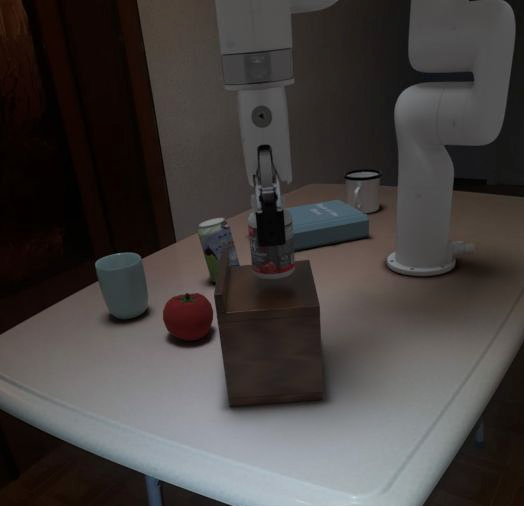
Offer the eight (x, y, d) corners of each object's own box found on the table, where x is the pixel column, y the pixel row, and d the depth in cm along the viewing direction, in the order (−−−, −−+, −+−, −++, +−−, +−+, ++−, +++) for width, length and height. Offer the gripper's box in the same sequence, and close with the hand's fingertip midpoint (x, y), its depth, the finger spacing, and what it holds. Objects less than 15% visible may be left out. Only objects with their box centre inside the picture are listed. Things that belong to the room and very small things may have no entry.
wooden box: (313, 342, 84) (308, 243, 76) (323, 399, 70) (319, 286, 63) (233, 348, 84) (221, 250, 76) (229, 406, 71) (213, 294, 63)
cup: (113, 328, 94) (100, 272, 89) (103, 312, 100) (89, 259, 95) (157, 315, 96) (147, 261, 92) (144, 300, 103) (134, 249, 98)
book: (338, 220, 136) (338, 199, 133) (368, 238, 122) (369, 215, 120) (250, 236, 131) (247, 215, 128) (271, 256, 117) (269, 233, 115)
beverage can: (238, 287, 105) (230, 224, 99) (200, 287, 106) (191, 225, 100) (245, 274, 110) (239, 214, 104) (210, 274, 111) (201, 215, 106)
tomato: (214, 320, 93) (208, 280, 89) (218, 343, 86) (212, 300, 82) (166, 328, 92) (158, 287, 89) (166, 351, 85) (158, 308, 82)
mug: (348, 204, 147) (348, 169, 143) (384, 204, 144) (385, 168, 139) (337, 217, 138) (336, 180, 133) (375, 218, 134) (375, 180, 130)
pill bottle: (243, 275, 70) (235, 198, 65) (271, 261, 73) (264, 187, 69) (277, 283, 67) (271, 202, 62) (303, 269, 70) (299, 191, 65)
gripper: (298, 72, 51) (307, 259, 60) (289, 64, 66) (297, 214, 75) (218, 80, 52) (239, 264, 60) (226, 70, 66) (242, 219, 75)
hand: (271, 235), depth 68 cm, fingers closed on pill bottle, 5 cm apart
